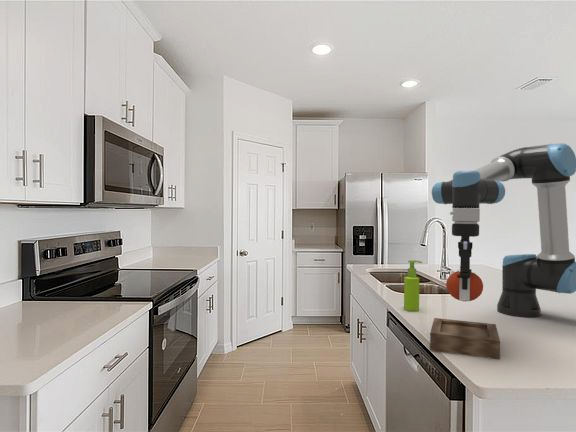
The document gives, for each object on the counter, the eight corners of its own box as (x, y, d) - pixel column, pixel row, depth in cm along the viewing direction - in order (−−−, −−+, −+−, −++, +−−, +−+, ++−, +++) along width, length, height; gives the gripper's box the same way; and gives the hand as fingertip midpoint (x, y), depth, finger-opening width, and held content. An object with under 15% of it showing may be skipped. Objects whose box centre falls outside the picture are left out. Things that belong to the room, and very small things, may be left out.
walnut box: (495, 340, 128) (495, 324, 128) (500, 359, 111) (500, 341, 111) (434, 333, 135) (434, 317, 135) (430, 350, 118) (430, 332, 118)
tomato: (465, 306, 116) (465, 271, 116) (438, 299, 125) (438, 266, 125) (491, 303, 120) (491, 269, 120) (463, 296, 129) (463, 265, 129)
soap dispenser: (422, 312, 163) (423, 261, 162) (404, 311, 164) (405, 261, 164) (420, 308, 168) (421, 259, 168) (403, 307, 170) (404, 259, 170)
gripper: (452, 221, 134) (451, 289, 135) (450, 223, 113) (449, 303, 114) (478, 222, 131) (477, 291, 132) (480, 224, 110) (479, 306, 111)
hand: (464, 296), depth 123 cm, fingers closed on tomato, 10 cm apart
